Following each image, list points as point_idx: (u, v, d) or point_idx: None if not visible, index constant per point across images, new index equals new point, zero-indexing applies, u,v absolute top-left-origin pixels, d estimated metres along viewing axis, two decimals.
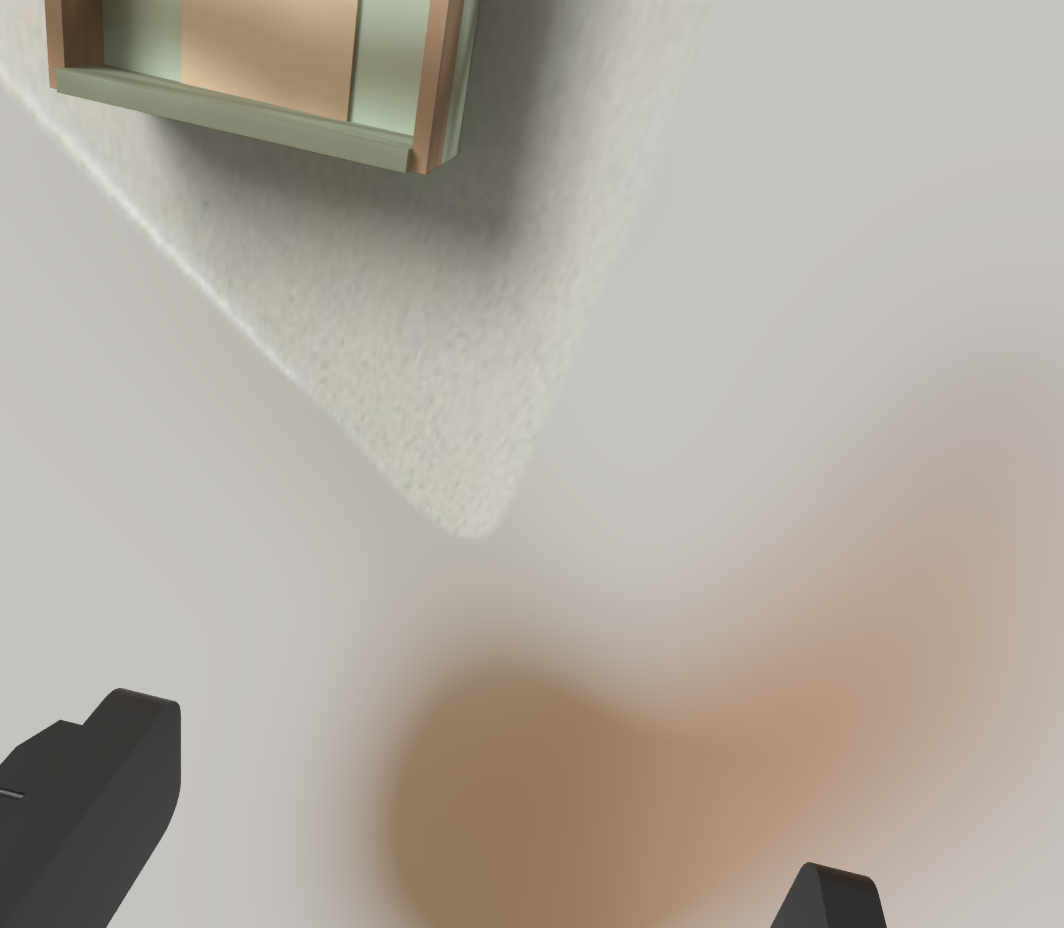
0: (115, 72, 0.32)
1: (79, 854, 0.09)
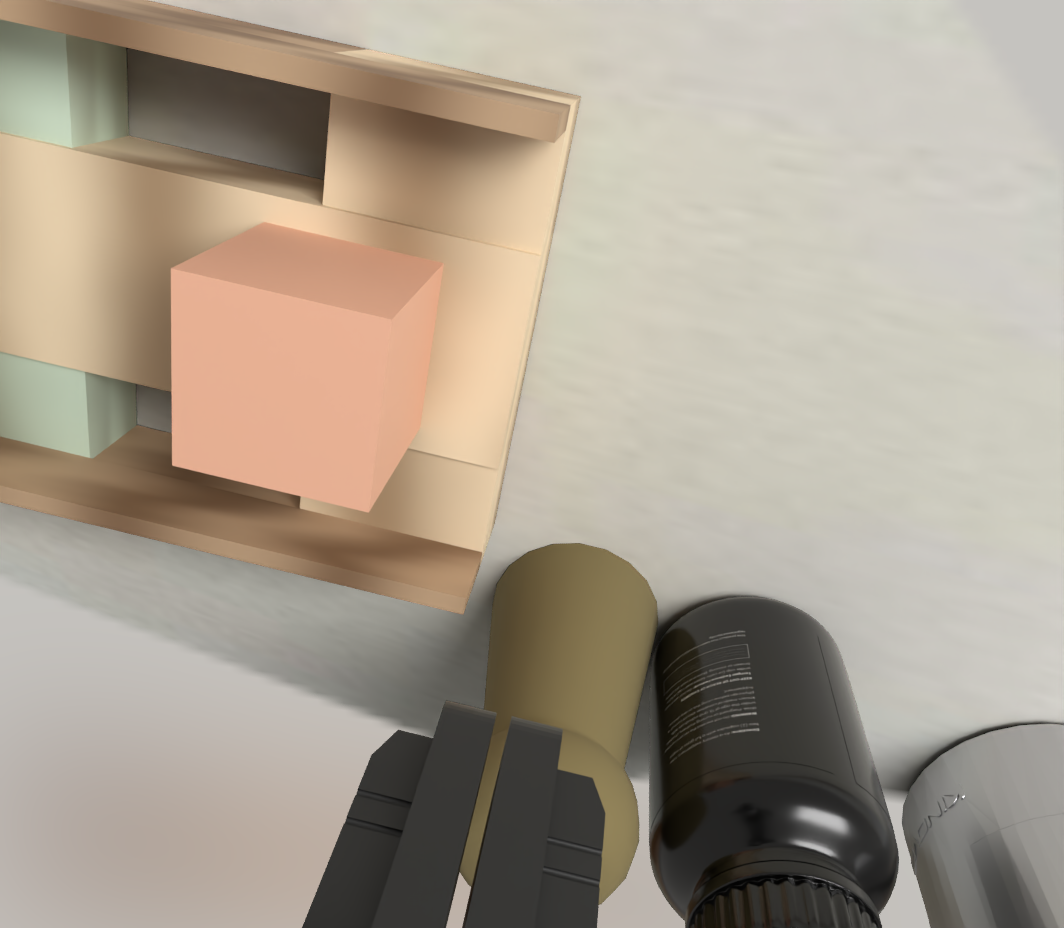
0: None
1: (461, 855, 0.10)
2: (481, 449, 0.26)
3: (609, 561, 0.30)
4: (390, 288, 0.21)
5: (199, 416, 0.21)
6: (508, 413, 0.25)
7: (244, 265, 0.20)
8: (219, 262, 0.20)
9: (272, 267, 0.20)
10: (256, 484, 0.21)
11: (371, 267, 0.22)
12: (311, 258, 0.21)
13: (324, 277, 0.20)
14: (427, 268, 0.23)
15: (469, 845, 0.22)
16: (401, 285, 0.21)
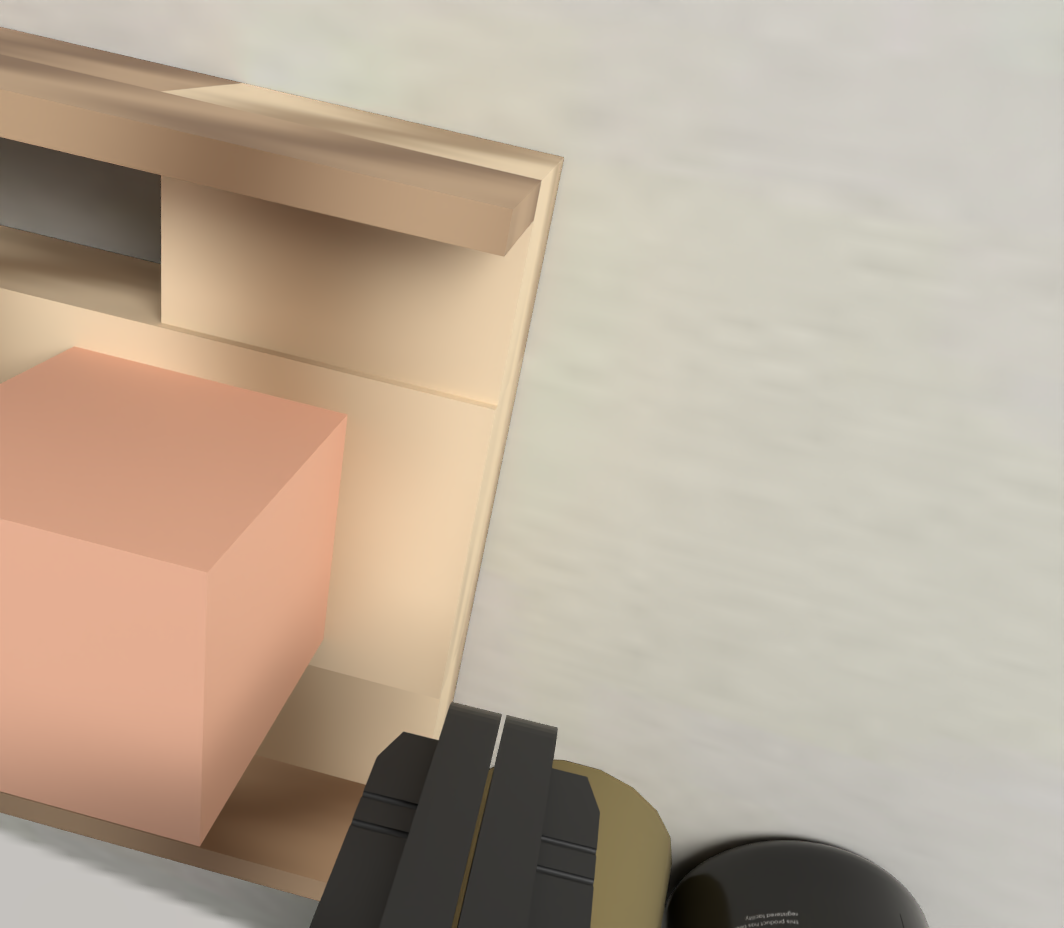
0: None
1: None
2: (413, 671, 0.17)
3: (605, 791, 0.21)
4: (235, 485, 0.12)
5: None
6: (452, 626, 0.17)
7: None
8: None
9: (33, 453, 0.12)
10: (18, 794, 0.13)
11: (218, 435, 0.14)
12: (119, 423, 0.13)
13: (121, 469, 0.12)
14: (316, 429, 0.14)
15: None
16: (258, 474, 0.13)
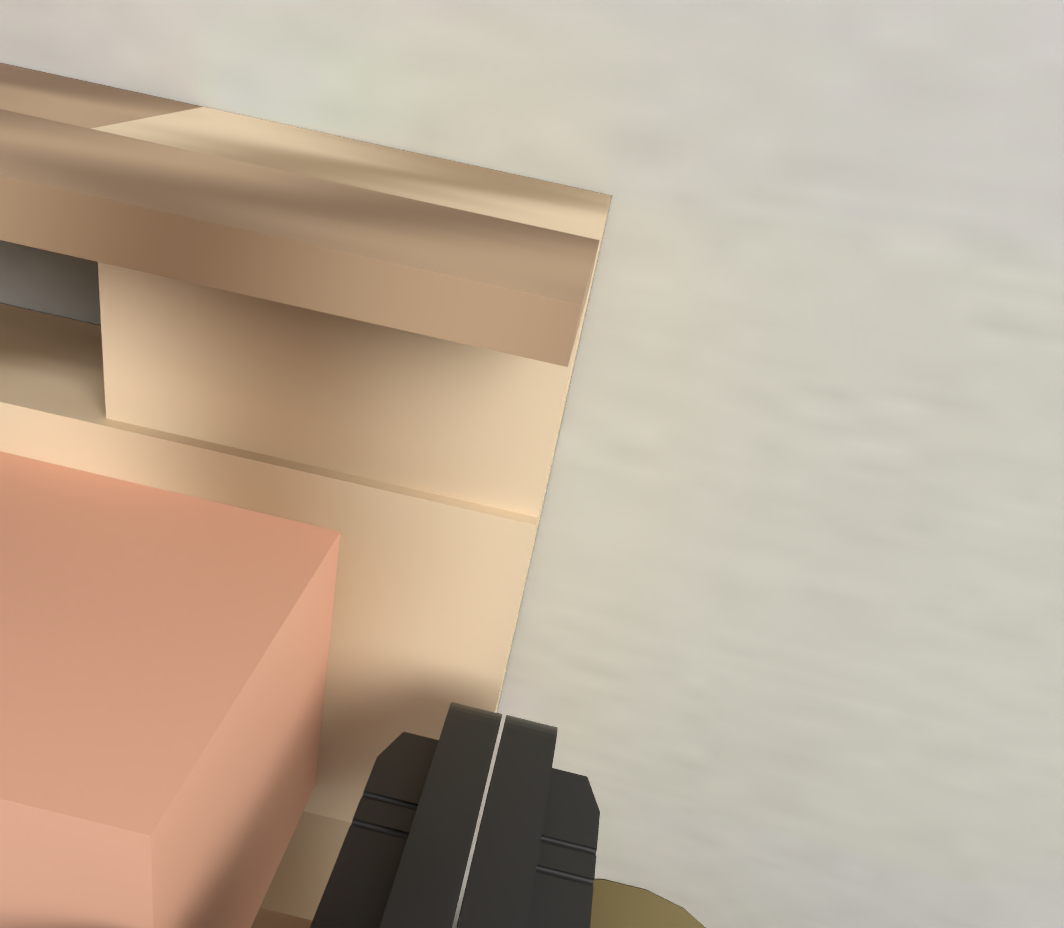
0: None
1: None
2: None
3: (653, 916, 0.18)
4: (192, 666, 0.09)
5: None
6: None
7: None
8: None
9: None
10: None
11: (174, 579, 0.10)
12: (41, 571, 0.10)
13: (38, 652, 0.09)
14: (300, 559, 0.11)
15: None
16: (225, 645, 0.10)
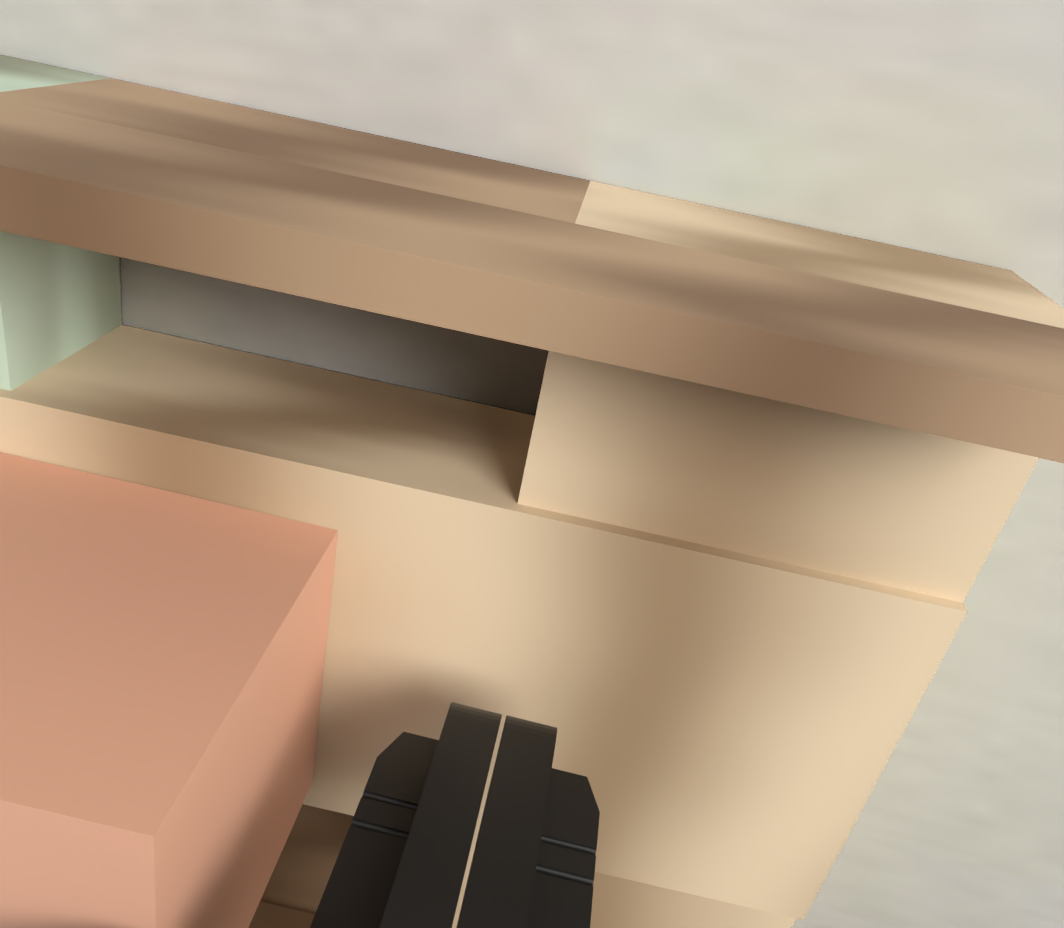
0: None
1: None
2: (777, 891, 0.14)
3: None
4: (192, 666, 0.09)
5: None
6: (840, 845, 0.13)
7: None
8: None
9: None
10: None
11: (172, 579, 0.10)
12: (38, 571, 0.10)
13: (36, 652, 0.09)
14: (298, 558, 0.11)
15: None
16: (225, 645, 0.10)
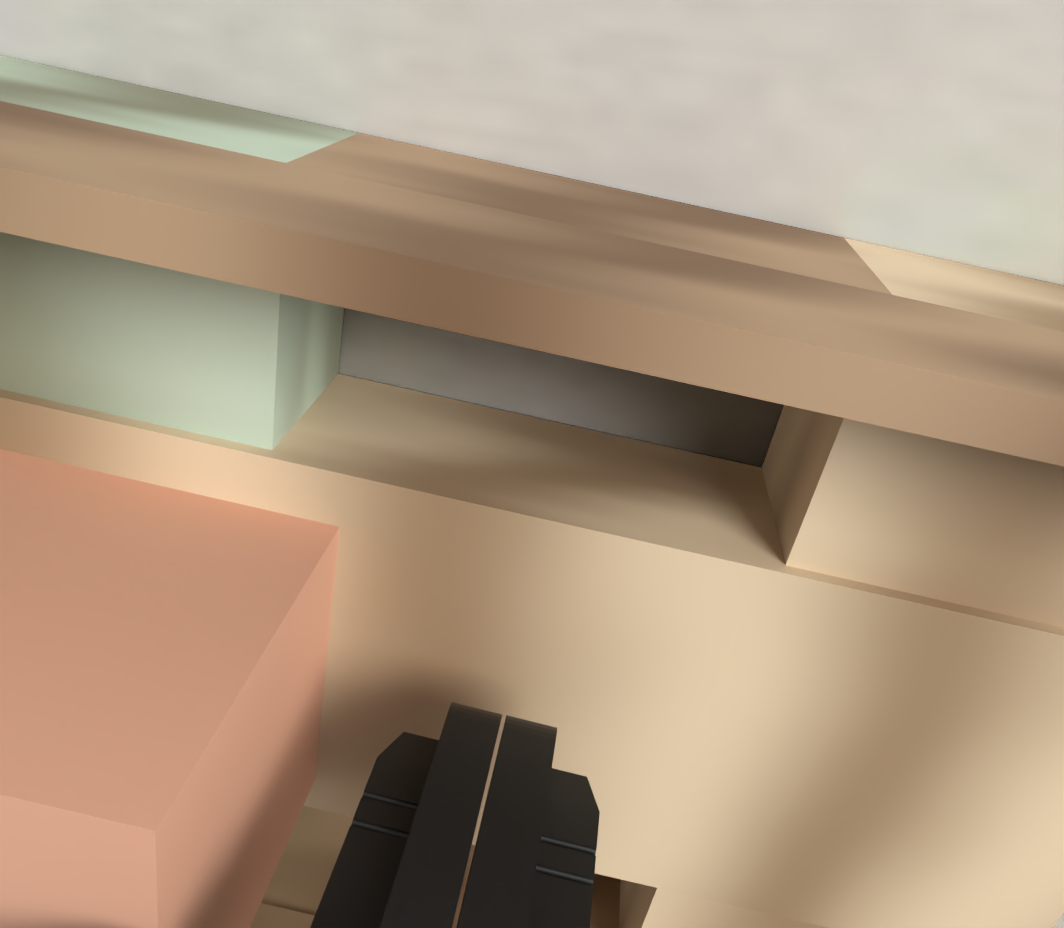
0: None
1: None
2: None
3: None
4: (194, 661, 0.09)
5: None
6: None
7: None
8: None
9: None
10: None
11: (174, 575, 0.10)
12: (39, 568, 0.10)
13: (38, 649, 0.09)
14: (300, 554, 0.11)
15: None
16: (226, 640, 0.10)
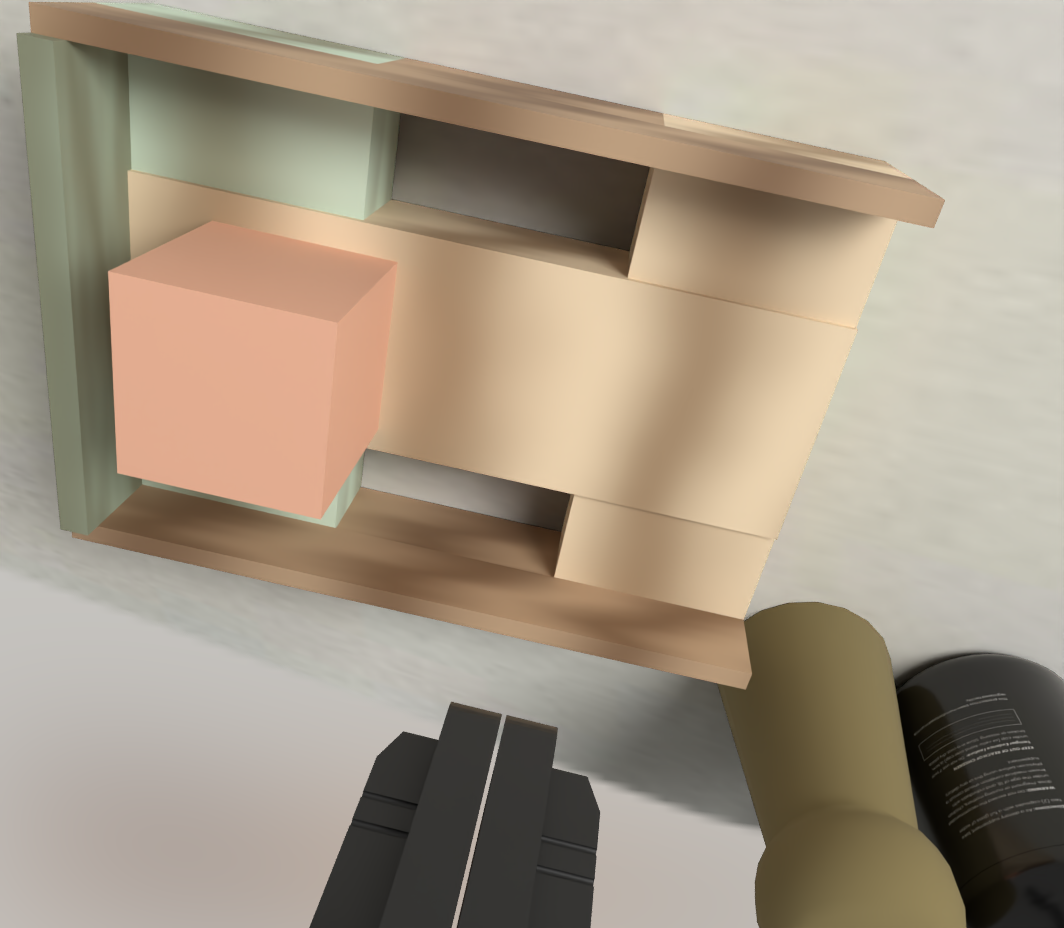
0: (102, 91, 0.21)
1: None
2: (762, 520, 0.25)
3: (851, 621, 0.29)
4: (339, 289, 0.20)
5: (143, 422, 0.20)
6: (796, 484, 0.24)
7: (186, 267, 0.19)
8: (161, 263, 0.19)
9: (216, 269, 0.20)
10: (204, 491, 0.21)
11: (321, 267, 0.21)
12: (259, 258, 0.21)
13: (270, 279, 0.20)
14: (379, 267, 0.22)
15: None
16: (351, 286, 0.20)
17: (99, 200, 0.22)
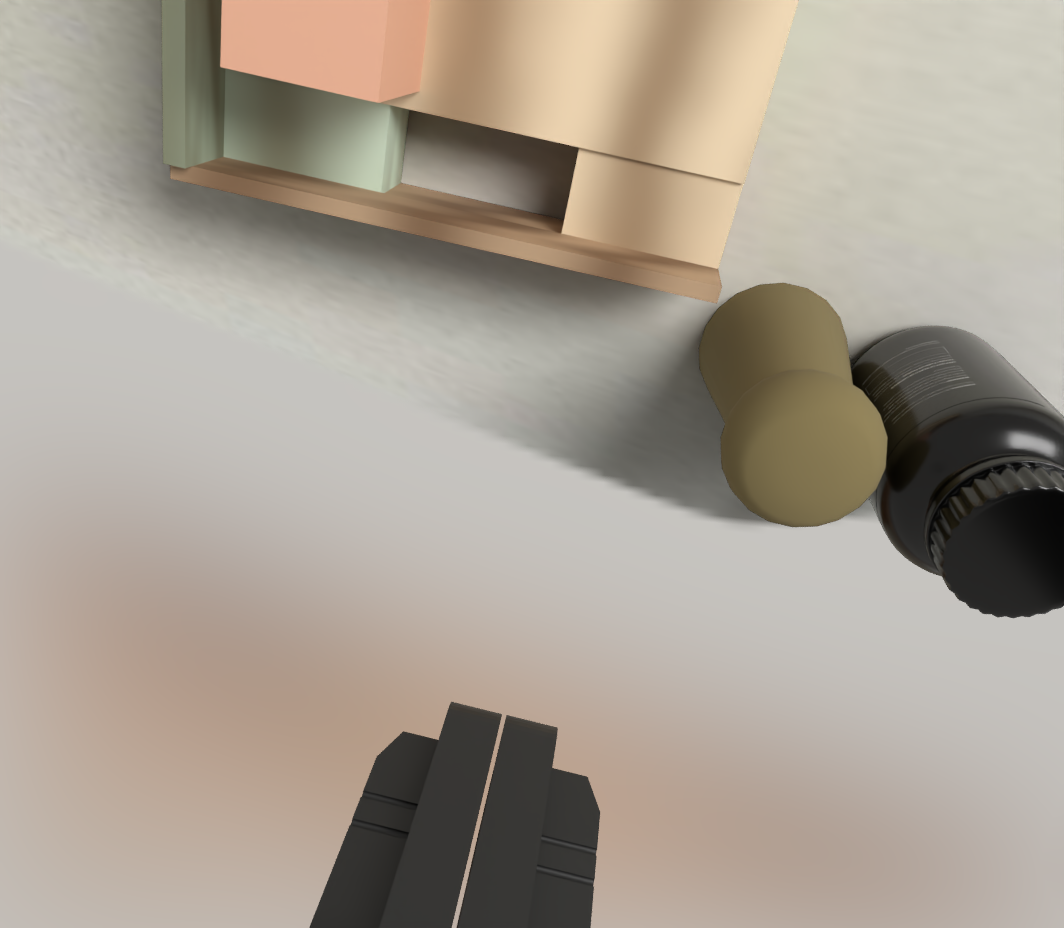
0: None
1: None
2: (731, 165, 0.31)
3: (811, 295, 0.35)
4: None
5: (243, 16, 0.26)
6: (759, 129, 0.30)
7: None
8: None
9: None
10: (288, 81, 0.27)
11: None
12: None
13: None
14: None
15: (756, 450, 0.27)
16: None
17: None
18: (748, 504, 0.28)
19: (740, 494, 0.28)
